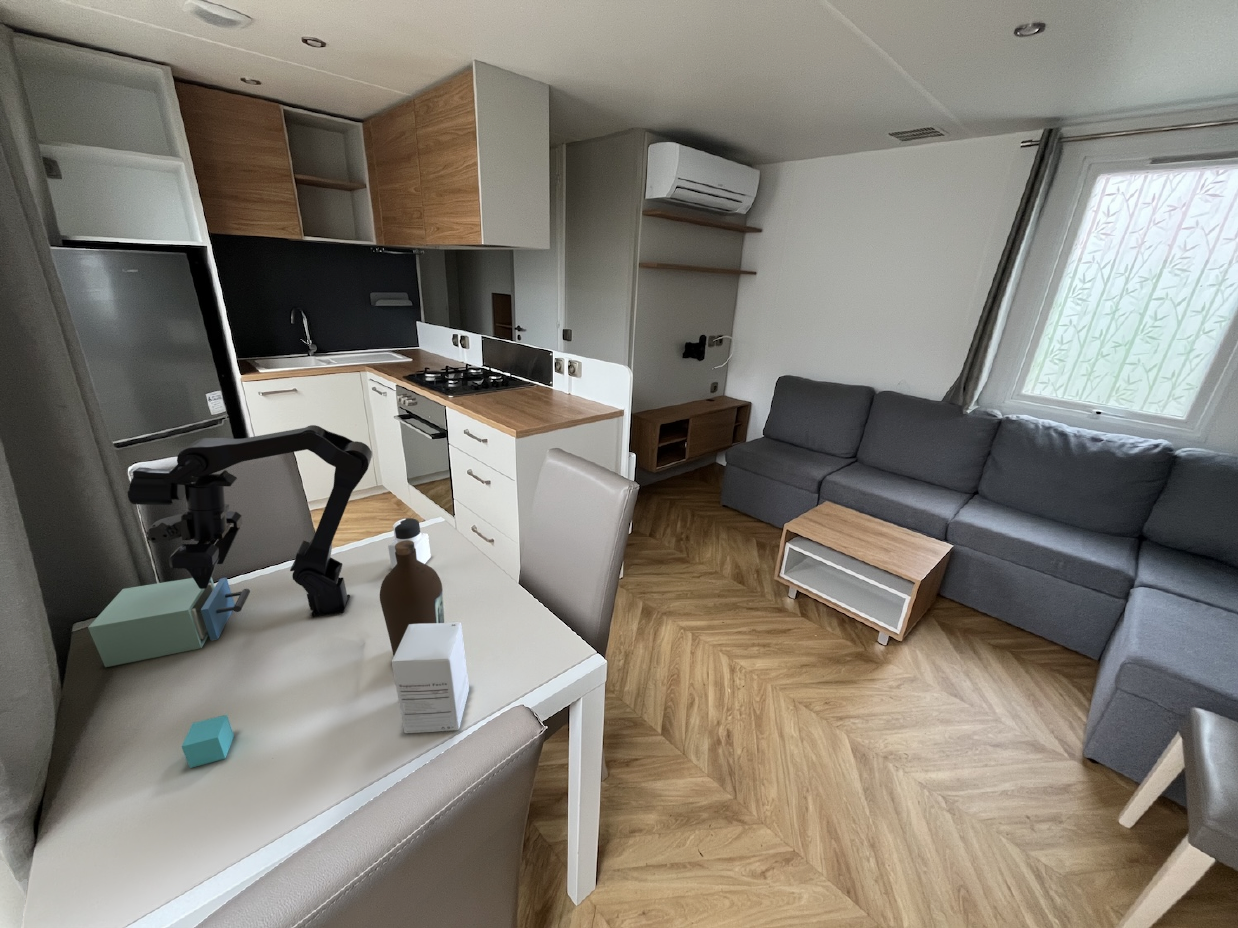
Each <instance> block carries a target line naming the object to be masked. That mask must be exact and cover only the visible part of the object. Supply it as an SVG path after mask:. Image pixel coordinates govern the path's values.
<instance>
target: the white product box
mask: <svg viewBox="0 0 1238 928" xmlns="http://www.w3.org/2000/svg"><path fill="white" fill-rule="evenodd" d="M466 659H467V658H466V652H465V643H464V636H463V627H462V622H460V621H456V622H455V621H453V622H444V623H432V624H431V623H429V624H409V625H408V627H407V630H406V632H405V634H404V636H403V638H402V640H401V642H400V645H399V647H398V649H397V651H396V653H395V655H394V657H393V658H392V660H391V668H392V673H393V679H394V683H395V688H396V694H397V700H398V704H399V705H398V706H399V711H400V716H401V721H402V727H403V732H404V734H416V733H417V734H418V733H419V734H420V733H435V732H436V733H437V732H449V731H450V732H451V731H459V730H460V727H461V724H462V719H463V715H464V711H465V708H466V703H467V700H468V695H469V691H470V684H469V676H468V668H467V660H466Z"/></svg>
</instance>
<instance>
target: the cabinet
mask: <svg viewBox="0 0 1238 928" xmlns="http://www.w3.org/2000/svg"><path fill="white" fill-rule="evenodd" d="M209 583H212V586H213V589H214V588H215V586H216V585H215V584H214V580H213V576H212V577H211V579H210V582H209ZM204 590H205V589H200V588H199V587H198V585H197V584H196V582H195V580H194V579H193V577H190V578H184V579H183V578H182V579H177V580H170V581H163V582H158V583H151V584H146V585H139V586H132V587H126V588H122V589H121V591H119V593H118V594H117V595H116V596H115V597H114V598H113V599H112V600H111V602H110V603H109V604H107V606H106V607H105V608H104V609H103V610H102V611H101V612H100V614H98V616H97V617H96V618H95V619H94V620H93V621H92V622H91V623H90V624H89V626H88V627H87V629H88V631H89V633H90V636H91V638H92V641H93V643H94V645H95V647H96V651H97V652H98V654H99V656H100V659H101V661H102V663H103V665H104V668H109V667H114V666H119V665H124V664H130V663H134V662H135V663H136V662H139V661H143V660H149V659H154V658H155V659H156V658H159V657H164V656H171V655H176V654H180V653H184V652H189V651H194V650H199V649H202V648H203V646H204V644H205V642H207V639H208V637H209V634H208V631H207V633H206V635H205V637H204V638H203V639H200V636H199V633H198V630H197V627H196V624H195V621H194V619H193V616H192V613H191V610H192V608H193V607H194V605H195V603H196V602H197V600H198V599H199V597H200V596H201V594H202V593H203V591H204Z"/></svg>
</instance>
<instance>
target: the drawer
mask: <svg viewBox="0 0 1238 928" xmlns="http://www.w3.org/2000/svg"><path fill="white" fill-rule="evenodd" d="M214 586H215V588H214V589H213V586H212V583H209V584H208V587H207V588H206V589H205V590H204V591H203V593H202V594H201V596H200V597H199V599H198V600H197V602H196V603H195V605H194V607H193V608H192V610H191V613H192V616H193V619H194V621H195V624H196V627H197V630H198V633H199V636H200V639H203V638H204V637H205V635H206V633H207V631H208V634H209V635H208V637H209V639H210V641H215V640H219V638H220V636H221V634H222V633H223V630H224V628H225V626H226V625H227V622H228V621H229V619H230V617H231V616H232V613H233V612H234V613H235V612H236V613H239V612H241V611H242V609H243V608H244V606H245V603H246V601H247V600H248V597H249V595H250V593H251V590H250V588H243V589H242V590H241V591H237V592H232V590H231V587H230V584H229V581H228V578H227V577H222V578H220V579H218V581H217V583H216V584H215V585H214ZM234 597H238V598H237V600H236V601H234Z"/></svg>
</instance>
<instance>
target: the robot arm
mask: <svg viewBox="0 0 1238 928" xmlns="http://www.w3.org/2000/svg"><path fill="white" fill-rule="evenodd" d="M306 450H307V451H309V452H311V453H313V454H314V455H316V456H317V457H319V458H320V459H321V460H322V461H324V462H325V463H326V464H328V465H330V466H332V467H334V474H333V486H332V489H331V492H330V494H329V497H328V500H327V501H326V505H325V506H324V507H325V508H324V510H323V513H322V515H321V518H320V519H319V523H318V525H317V526H316V530H315V533H314V535H313V538H312V539H311V540H310V541H306V540H305V539H304V540H302V541H301V544H300V545H299V548H298V550H297V552H296V555H295V559H294V560H293V563H292V565H291V566H290V569H289V572H292V580H293V581H294V582H295V583H296V584H297V585H299V586H301V588H303V590H305V592H306V593H307V594H306V598H307V601H308V606H309V610H310V611H311V613H310V617H311V618H319V617H320V618H321V617H328V616H333V615H334V616H335V615H342V614H344V613H345V612H346V609H347V606H348V604H349V602H350V600H351V595H350V594H348V593H347V592H348V591H347V587H346V583H345V578H344V577H343V576H342V577H340V575H341V572H342V569H343V563H342V562H341V561H339V560H337V559H335V558H333V557H331V556H332V550H333V549H332V548H333V541H334V538H335V536H336V533H337V532H338V531H337V530H338V529H339V525H340V523H341V522H342V521H341V520H342V519H343V515H344V513H345V511H346V509H347V505H348V503H349V501H350V498H351V496H352V493H353V491H354V490H355V488H356V487H357V486H358V485H359V484H360V483H361V481H362V479H363V477H364V476H365V474H366V473H367V471H368V469H369V466H370V464H371V460H372V459H373V458H372V457H373V451H372V450H371V448H370V447H369V445H367V444H366V443H364V442H362V441H354V440H352V439H350V438H348V437H346V436H344V435H341V434H338V433H335V432H332V431H329V430H326V429H325V428H323V427H322V426H320V425H315V424H311V425H307V426H306V427H305V426H304V427H301V428H295V429H289V430H284V431H278V432H272V433H266V434H261V435H255V436H248V437H244V438H229V437H202V438H199V439H197V440H195V441H194V442H192V443H191V444H189V445H188V446H186V447H185V448H183V449H182V450H181V451H179V453H178V454H177V456H176V463H177V464H176V465H175V466H173V468H171V469H163V468H150V467H141V466H140V467H137V468H136V469H134V470H133V471H132V478H131V480H130V483H129V487H128V490H127V499H128V501H129V503H131V504H132V505H137V506H139V505H142V506H176V504H177V503H178V502H179V501H182V500H183V499H184V498H185V505H186V511H185V512H184V513H178V514H175V515H171V516H168V517H164V518H161V519H158V520H156V521H155V522H153V524H151V525H150V527H148V528H147V531H146V532H145V533H146V534H147V537H146V540H147V541H150V542H151V543H153V544H156V545H162V544H164V543H165V542H169V541H172V540H176V539H179V538H181V541H191V540H193V541H195V542H197V543H183V544H181V545H180V546H178V547H177V548H176V549H175V550H174V551H173V553H171V555H170V556H169V557H168V562H169V567H170V568H172V569H180V570H181V569H184V570H186V571H187V572H188V573H189V574H190V575H191V578H193V579H194V580H195V582H196V584H197V585H198V587H199V588H200V589H206V588H207V587H208V584H209V582H210V579H211V577H212V578H213V575H214V572H215V569H216V567H217V565H223V564H224V562H225V560H226V558H227V556H228V554H229V552H230V549H231V548H232V546H233V543H234V541H235V539H236V537H237V535H238V533H239V531H240V528H241V526H242V524H243V515H241V513H239V512H238V511H230V504H226V498H225V497H226V496H225V487H228V488H229V487H232V486H233V484H234V483H235V482H236V481H237V480H238V477H237V476H235V475H234V474H232V473H230V472H228V470H227V469H228V468H230V467H233V466H235V465H237V464H240V463H243V462H247V461H254V460H258V459H259V460H260V459H263V458H269V457H270V458H271V457H274V456H281V455H286V454H291V453H296V452H301V451H306ZM220 471H221V472H220ZM218 472H220V473H218ZM232 524H233V526H232Z"/></svg>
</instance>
